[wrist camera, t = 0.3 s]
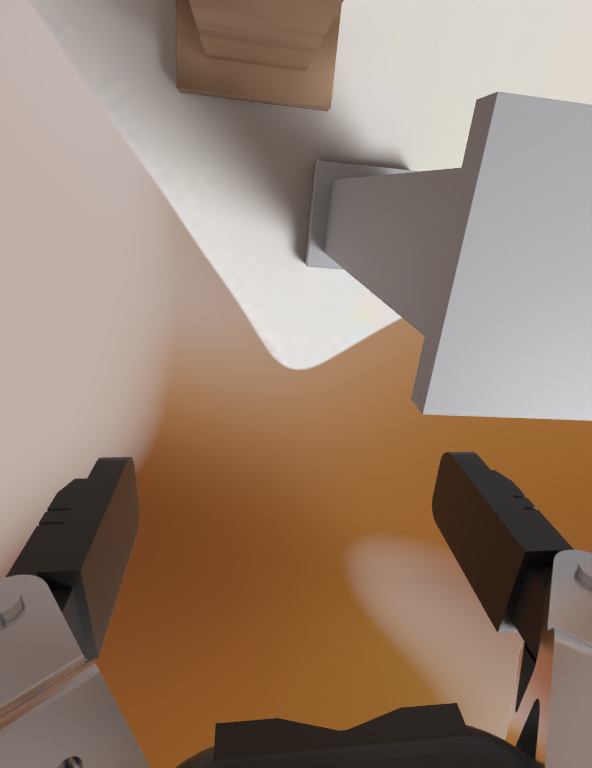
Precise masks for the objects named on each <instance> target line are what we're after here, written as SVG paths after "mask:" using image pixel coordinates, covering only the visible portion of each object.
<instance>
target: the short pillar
mask: <svg viewBox="0 0 592 768" xmlns="http://www.w3.org/2000/svg"><path fill="white" fill-rule="evenodd" d="M305 264H306V265H307V267H319V268H331V269H343V270H346V271H347V272H348V273H349V274H350V275H352V276H353V277H354V278H355V279H356V280H358V281H359V282H360V283H361V284H363V285H364V286H365V287H366V288H367V289H369V290H370V291H371V292H372V293H373V294H375V295H376V296H377V297H378V298H379V299H381V300H382V301H383V302H384V303H385V304H387V305H388V306H389V307H390V308H391V309H393V310H394V311H395V312H396V313H397V314H399V315H400V316H401V317H402V318H404V319H405V320H406V321H407V322H408V323H410V324H411V325H412V326H413V327H414V328H416V329H417V330H418V331H419V332H420V333H422V334H423V335H424V336H425V338H424V342H423V347H422V352H421V356H420V361H419V366H418V370H417V375H416V379H415V384H414V388H413V393H412V397H411V400H412V401H413V402H414V404H415V405H416V406H417V407H418V409H419V410H420V411H421V413H422V414H431V415H458V416H485V417H487V416H488V417H511V418H513V417H514V418H540V419H565V420H592V105H588V104H581V103H574V102H567V101H560V100H553V99H546V98H539V97H532V96H525V95H518V94H511V93H504V92H496V93H493V94H491V95H488V96H485V97H483V98H480V99H477V100H476V105H475V109H474V114H473V118H472V123H471V127H470V132H469V137H468V141H467V146H466V150H465V155H464V159H463V164H462V168H454V169H443V170H432V171H421V172H418V171H411V170H402V169H393V168H384V167H375V166H367V165H358V164H349V163H340V162H331V161H322V160H317V161H315V170H314V180H313V190H312V200H311V210H310V220H309V230H308V240H307V250H306V260H305Z"/></svg>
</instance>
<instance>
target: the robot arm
mask: <svg viewBox="0 0 592 768" xmlns="http://www.w3.org/2000/svg"><path fill="white" fill-rule="evenodd" d="M432 511H433V516H434V520H435V522H436V524H437V526H438V528H439V529H440V531H441V533H442V535H443V537H444V538H445V540H446V542H447V544H448V545H449V547H450V549H451V551H452V553H453V554H454V556H455V558H456V560H457V562H458V563H459V565H460V566H461V569H462V570H463V572H464V574H465V576H466V577H467V579H468V581H469V583H470V584H471V586H472V588H473V590H474V592H475V593H476V595H477V597H478V599H479V601H480V602H481V604H482V606H483V608H484V609H485V611H486V613H487V615H488V617H489V618H490V620H491V622H492V624H493V625H494V627H495V629H496V631H497V632H498V633H507V632H519V633H520V635H521V637H522V638H523V643H522V645H521V648H520V652H519V658H518V665H517V672H516V679H515V686H514V692H513V699H512V706H511V712H510V719H509V725H508V730H507V734H506V738H505V740H503V739H501V738H499V737H497V736H495V735H493V734H491V733H489V732H486V731H484V730H481V729H477V728H475V727H472V726H467V725H465V722H464V720H463V717H462V715H461V712H460V710H459V707H458V705H457V703H451V704H441V705H440V704H439V705H428V706H416V707H404V708H399V709H397V710H394V711H392V712H389V713H387V714H384V715H382V716H380V717H377V718H375V719H373V720H371V721H368V722H365V723H363V724H361V725H358V726H356V727H353V728H351V729H348V730H344V731H338V730H332V729H328V728H323V727H318V726H313V725H308V724H303V723H298V722H293V721H288V720H284V719H279V718H276V719H265V720H253V721H240V722H229V723H217V724H216V730H215V731H216V732H215V746H213V747H210V748H208V749H205V750H203V751H201V752H199V753H197V754H195V755H194V756H192V757H190V758H188V759H187V760H185V761H184V762H182V763H181V764H180V765H178V766H177V767H176V768H592V554H591V553H588V552H584V551H580V550H574V549H573V548H572V547H571V546H570V545H569V544H568V543H567V542H566V540H565V539H564V538H563V537H562V536H561V535H560V534H559V533H558V531H557V530H556V529H555V528H554V527H553V526H552V525H551V524H550V523H549V521H548V520H547V519H546V518H545V517H544V516H543V515H542V514H541V513H540V511H539V510H536V507H535V506H534V505H533V504H532V503H531V501H530V500H529V499H528V498H527V499H526V498H525V495H524V494H523V493H522V491H520V489H519V488H518V487H517V486H516V485H515V484H514V483H513V482H512V481H511V480H509V479H508V478H506V477H504V476H503V475H501V474H500V473H498V472H497V471H495V470H490V469H489V468H488V466H487V465H486V464H485V463H484V462H483V461H482V460H481V458H480V457H479V456H478V455H477V454H476V453H475V452H446V453H444V454H443V456H442V458H441V461H440V466H439V470H438V475H437V480H436V485H435V489H434V494H433V499H432ZM139 516H140V508H139V500H138V492H137V483H136V474H135V466H134V461H133V459H132V457H113V458H99V459H98V460H97V462H96V464H95V465H94V468H93V469H92V471H91V473H90V475H89V477H88V478H87V479H74V480H73V481H72V482H70V483H69V484H68V485H67V486H65V487H64V488H63V489H62V490H60V491H59V492H58V493H57V494H56V496H55V498H54V499H53V501H52V502H51V504H50V506H49V507H48V511H47V512H45V514H44V515H43V517H42V519H41V520H40V522H39V526H37V527H36V529H35V530H34V532H33V533H32V535H31V537H30V538H29V540H28V542H27V543H26V545H25V547H24V548H23V550H22V551H21V553H20V555H19V556H18V558H17V560H16V561H15V563H14V565H13V566H12V568H11V569H10V571H9V573H8V574H7V576H6V578H3V579H0V768H150V766H149V765H148V763H147V761H146V759H145V757H144V755H143V753H142V751H141V749H140V747H139V746H138V744H137V742H136V740H135V738H134V736H133V734H132V732H131V730H130V728H129V726H128V724H127V723H126V721H125V719H124V717H123V715H122V713H121V711H120V709H119V707H118V705H117V704H116V702H115V700H114V698H113V696H112V694H111V692H110V690H109V688H108V686H107V684H106V683H105V681H104V679H103V677H102V675H101V673H100V671H99V669H98V667H97V666H96V664H95V663H94V662H93V660H92V659H93V658H98V657H99V654H100V651H101V648H102V645H103V642H104V638H105V635H106V632H107V629H108V626H109V622H110V619H111V616H112V613H113V609H114V606H115V603H116V600H117V597H118V593H119V590H120V587H121V584H122V581H123V577H124V574H125V571H126V567H127V565H128V561H129V558H130V555H131V552H132V548H133V545H134V542H135V538H136V536H137V532H138V527H139ZM86 659H88V660H86Z"/></svg>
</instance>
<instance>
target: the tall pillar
mask: <svg viewBox="0 0 592 768" xmlns="http://www.w3.org/2000/svg"><path fill="white" fill-rule="evenodd" d="M342 2H343V0H176V57H177V89H178V90H179V92H184V93H192V94H199V95H207V96H215V97H223V98H230V99H238V100H246V101H254V102H261V103H269V104H277V105H285V106H292V107H300V108H308V109H316V110H323V111H327V110H328V109H330V107H331V97H332V88H333V79H334V69H335V60H336V51H337V41H338V32H339V23H340V13H341V4H342Z"/></svg>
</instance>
